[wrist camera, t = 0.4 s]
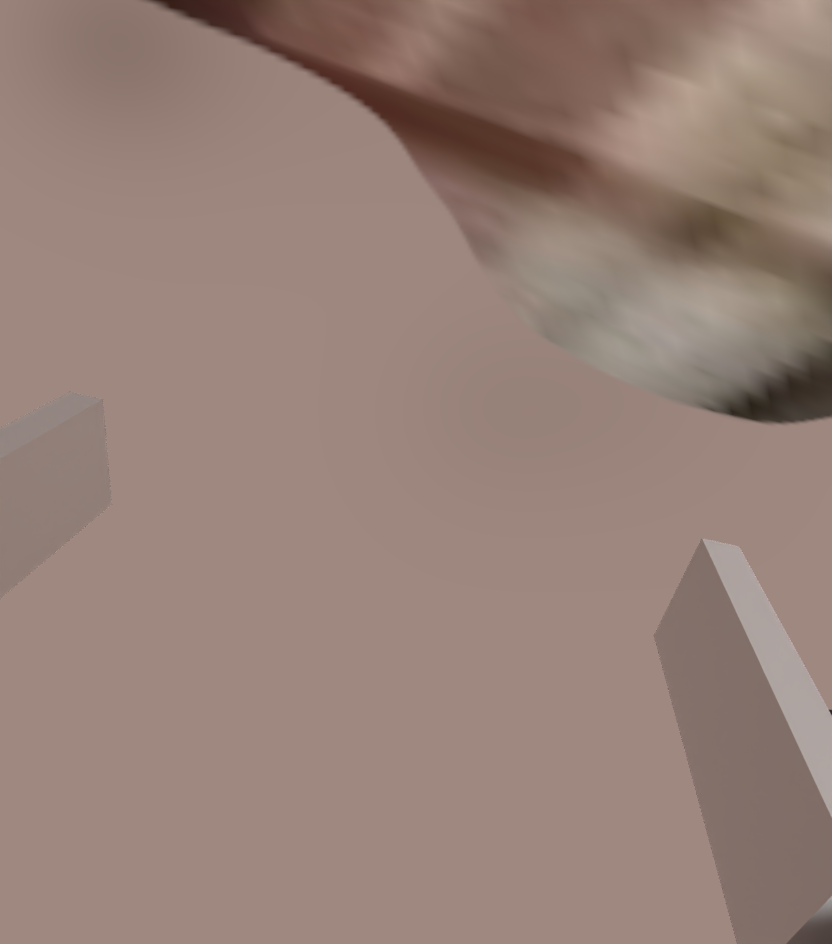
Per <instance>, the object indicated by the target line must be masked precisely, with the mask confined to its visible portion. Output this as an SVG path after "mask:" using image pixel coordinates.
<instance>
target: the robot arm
mask: <svg viewBox="0 0 832 944" xmlns="http://www.w3.org/2000/svg"><path fill="white" fill-rule="evenodd" d="M111 504H112V503H111V491H110V479H109V468H108V455H107V443H106V432H105V420H104V409H103V400H102V399H99V398H94V397H90V396H86V395H81V394H77V393H73V392H69V393H67V394H65V395H63V396H61V397H59V398H57V399H55V400H53V401H52V402H49V403H47V404H45V405H44V406H42V407H40V408H38V409H36V410H34V411H32V412H30V413H28V414H26V415H25V416H22V417H21V418H19V419H17V420H15V421H13V422H11V423H9V424H7V425H5V426H3V427H1V428H0V598H2V597H3V596H4V595H5V594H6V593H7V592H9V591H10V590H11V589H12V588H13V587H15V586H16V585H17V584H18V583H19V582H21V581H22V580H23V579H24V578H25V577H26V576H28V575H29V574H30V573H31V572H32V571H33V570H35V569H36V568H37V567H38V566H39V565H41V564H42V563H43V562H44V561H45V560H46V559H48V558H49V557H50V556H51V555H52V554H54V553H55V552H56V551H57V550H58V549H60V548H61V547H62V546H63V545H64V544H65V543H67V542H68V541H69V540H70V539H71V538H73V537H74V536H75V535H76V534H77V533H79V532H80V531H81V530H82V529H83V528H84V527H86V526H87V525H88V524H89V523H90V522H92V521H93V520H94V519H95V518H96V517H97V516H99V515H100V514H101V513H102V512H103V511H105V510H106V509H107V508H108V507H109V506H110V505H111ZM654 638H655V642H656V645H657V649H658V653H659V657H660V660H661V664H662V668H663V671H664V675H665V679H666V682H667V686H668V690H669V694H670V697H671V701H672V705H673V708H674V712H675V716H676V719H677V723H678V727H679V731H680V734H681V738H682V742H683V745H684V749H685V752H686V757H687V760H688V764H689V768H690V771H691V775H692V779H693V783H694V786H695V790H696V794H697V797H698V801H699V805H700V808H701V812H702V816H703V820H704V823H705V827H706V830H707V834H708V838H709V842H710V845H711V849H712V853H713V857H714V860H715V864H716V867H717V871H718V875H719V879H720V882H721V886H722V890H723V894H724V897H725V901H726V905H727V908H728V912H729V916H730V920H731V923H732V927H733V931H734V934H735V938H736V941H737V944H832V710H829V709H828V708H827V706H826V704H825V702H824V701H823V699H822V697H821V695H820V693H819V691H818V690H817V688H816V686H815V684H814V682H813V681H812V679H811V677H810V675H809V674H808V671H807V670H806V668H805V666H804V664H803V662H802V660H801V659H800V657H799V655H798V653H797V651H796V649H795V648H794V646H793V644H792V642H791V641H790V639H789V637H788V635H787V633H786V631H785V630H784V628H783V626H782V624H781V622H780V620H779V619H778V617H777V615H776V613H775V611H774V609H773V608H772V606H771V604H770V602H769V600H768V599H767V597H766V595H765V593H764V591H763V589H762V588H761V586H760V584H759V582H758V580H757V579H756V577H755V575H754V573H753V571H752V569H751V568H750V566H749V564H748V562H747V561H746V558H745V557H744V555H743V553H742V551H741V549H740V548H739V547H738V546H734V545H729V544H725V543H720V542H717V541H712V540H708V539H704V538H702V539H701V541H700V543H699V545H698V547H697V549H696V551H695V553H694V555H693V557H692V559H691V561H690V564H689V565H688V567H687V569H686V571H685V573H684V575H683V578H682V579H681V581H680V583H679V586H678V587H677V590H676V592H675V594H674V596H673V598H672V600H671V602H670V604H669V606H668V608H667V610H666V612H665V614H664V616H663V618H662V620H661V622H660V624H659V626H658V628H657V630H656V632H655V634H654Z"/></svg>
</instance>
